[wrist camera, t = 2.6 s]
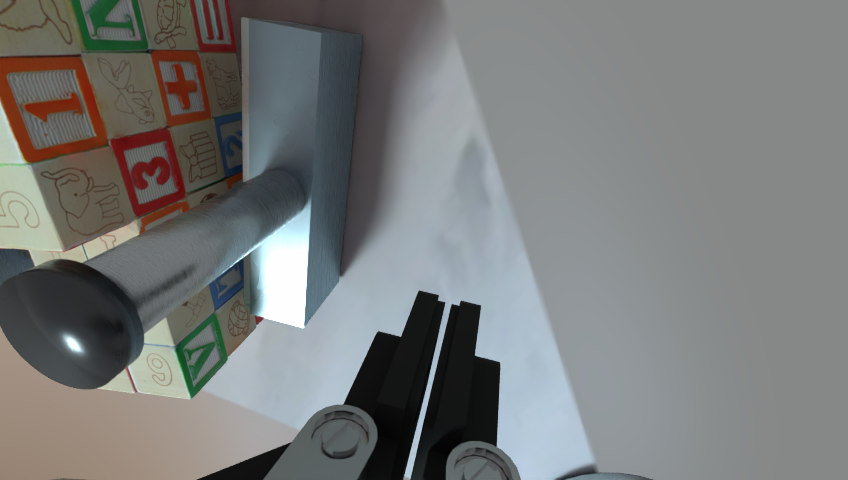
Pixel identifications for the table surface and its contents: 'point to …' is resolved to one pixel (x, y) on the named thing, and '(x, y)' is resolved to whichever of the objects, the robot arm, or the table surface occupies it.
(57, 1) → the stack of blocks
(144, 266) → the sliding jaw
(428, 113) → the table surface
